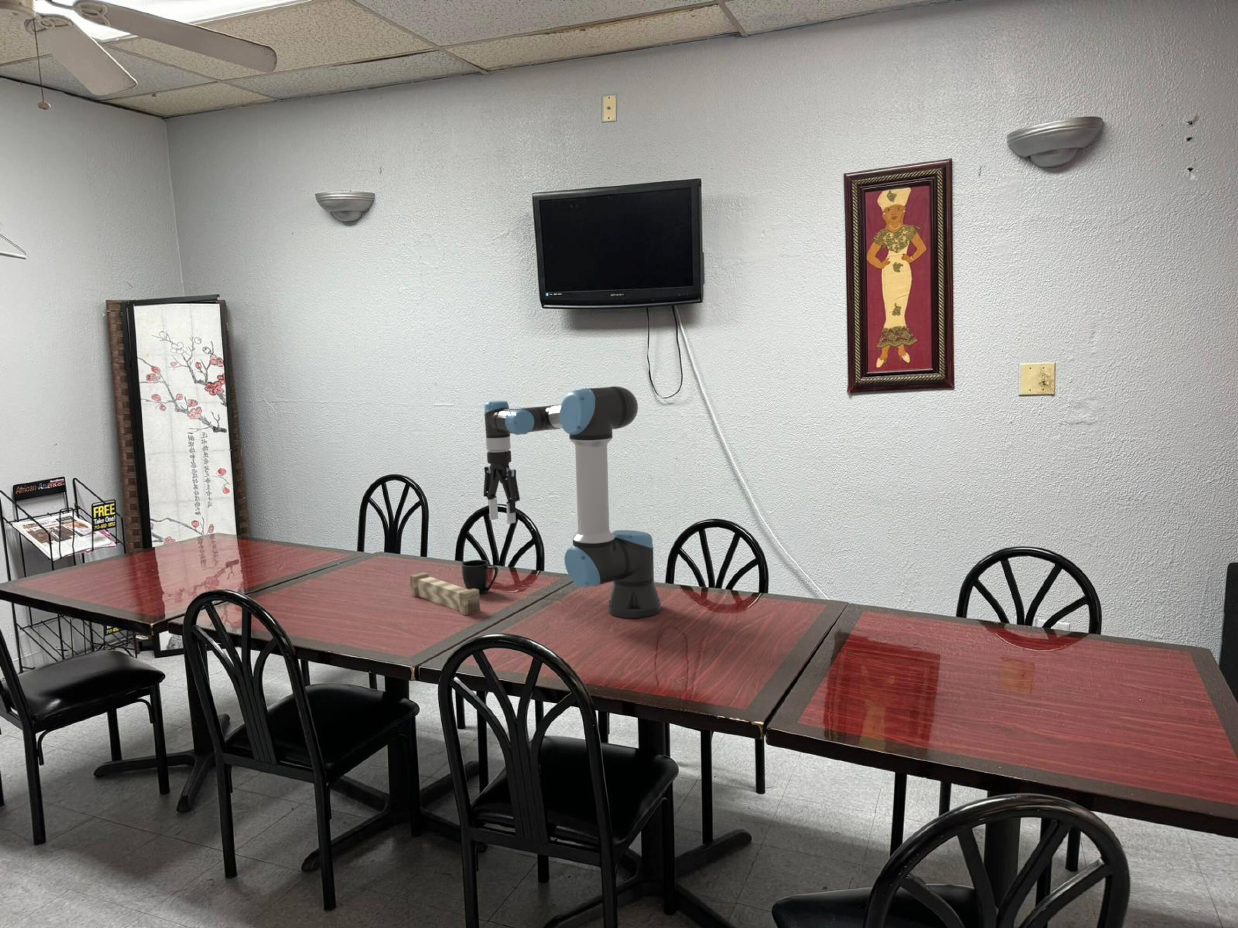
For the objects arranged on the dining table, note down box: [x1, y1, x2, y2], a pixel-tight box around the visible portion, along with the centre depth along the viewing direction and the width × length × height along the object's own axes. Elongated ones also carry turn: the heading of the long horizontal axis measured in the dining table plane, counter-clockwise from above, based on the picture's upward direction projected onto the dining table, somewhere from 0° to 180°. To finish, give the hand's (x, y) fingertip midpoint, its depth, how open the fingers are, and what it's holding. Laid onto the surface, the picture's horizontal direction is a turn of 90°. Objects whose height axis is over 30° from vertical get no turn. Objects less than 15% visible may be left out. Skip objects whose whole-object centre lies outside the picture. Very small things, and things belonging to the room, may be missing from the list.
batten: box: [409, 571, 481, 616], centre depth 267 cm, size 30×5×6 cm, turn 44°
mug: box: [461, 559, 499, 596], centre depth 276 cm, size 8×12×10 cm
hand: (502, 521), depth 280 cm, fingers open, 9 cm apart
